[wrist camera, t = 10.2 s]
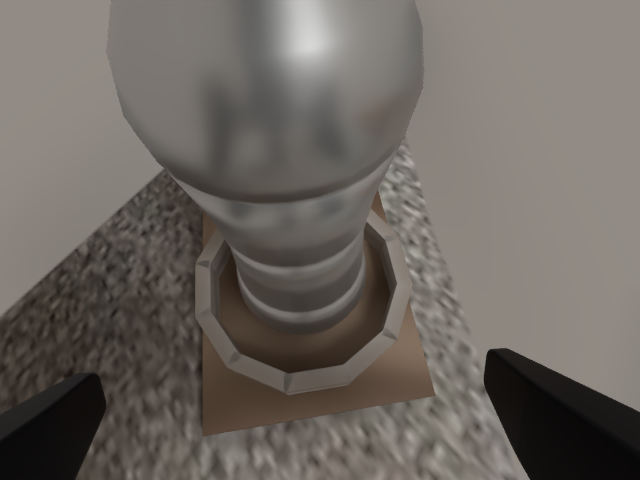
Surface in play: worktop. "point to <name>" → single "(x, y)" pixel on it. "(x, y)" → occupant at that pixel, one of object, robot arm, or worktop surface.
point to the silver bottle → (275, 130)
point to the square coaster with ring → (307, 343)
